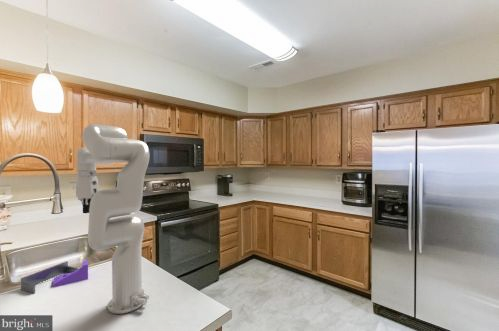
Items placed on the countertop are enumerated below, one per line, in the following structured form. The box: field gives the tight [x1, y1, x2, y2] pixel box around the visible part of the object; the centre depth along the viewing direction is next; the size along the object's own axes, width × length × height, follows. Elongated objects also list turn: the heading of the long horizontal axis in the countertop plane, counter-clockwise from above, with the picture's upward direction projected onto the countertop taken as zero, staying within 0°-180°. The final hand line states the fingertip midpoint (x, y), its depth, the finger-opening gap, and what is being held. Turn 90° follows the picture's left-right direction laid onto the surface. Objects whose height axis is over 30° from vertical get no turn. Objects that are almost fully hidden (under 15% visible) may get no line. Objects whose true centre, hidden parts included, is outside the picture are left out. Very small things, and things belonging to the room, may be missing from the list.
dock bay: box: [20, 261, 79, 295], centre depth 102 cm, size 8×17×5 cm, turn 161°
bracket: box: [52, 260, 89, 288], centre depth 104 cm, size 12×7×7 cm, turn 125°
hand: (87, 212), depth 114 cm, fingers closed
